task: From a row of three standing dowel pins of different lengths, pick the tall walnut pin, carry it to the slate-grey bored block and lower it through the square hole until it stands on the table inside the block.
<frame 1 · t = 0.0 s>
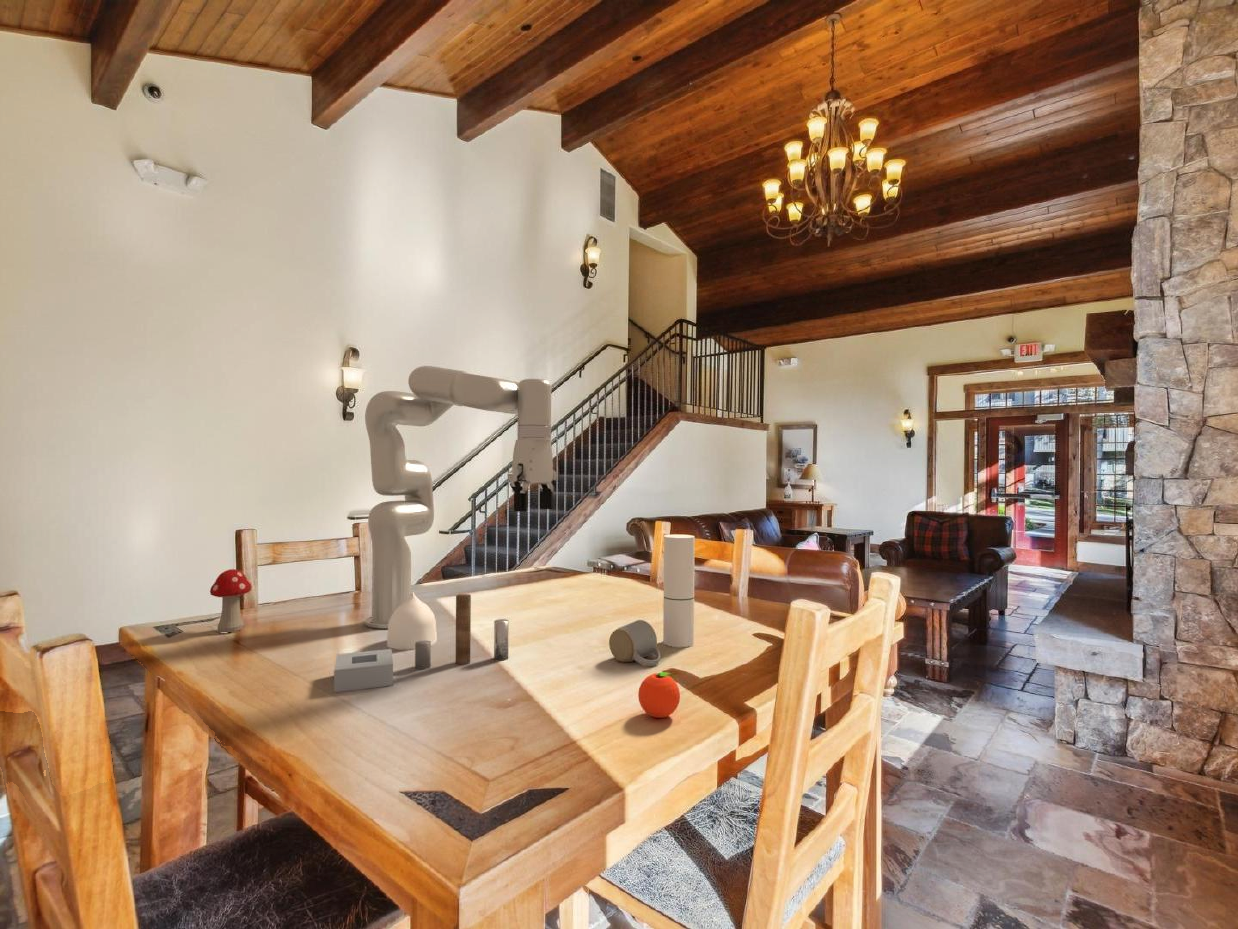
hand: (533, 510, 138), 31 cm above the table, tool pointing down, fingers open, 9 cm apart
ceramic mug: (637, 661, 131), on the table
medium pin: (501, 658, 131), on the table
decorative mushroom: (230, 631, 151), on the table
cylindrical container: (678, 643, 143), on the table
teardrop: (412, 643, 142), on the table
short pin: (422, 667, 125), on the table
clementine: (660, 716, 102), on the table
hole block: (364, 680, 117), on the table
long pin: (462, 662, 128), on the table
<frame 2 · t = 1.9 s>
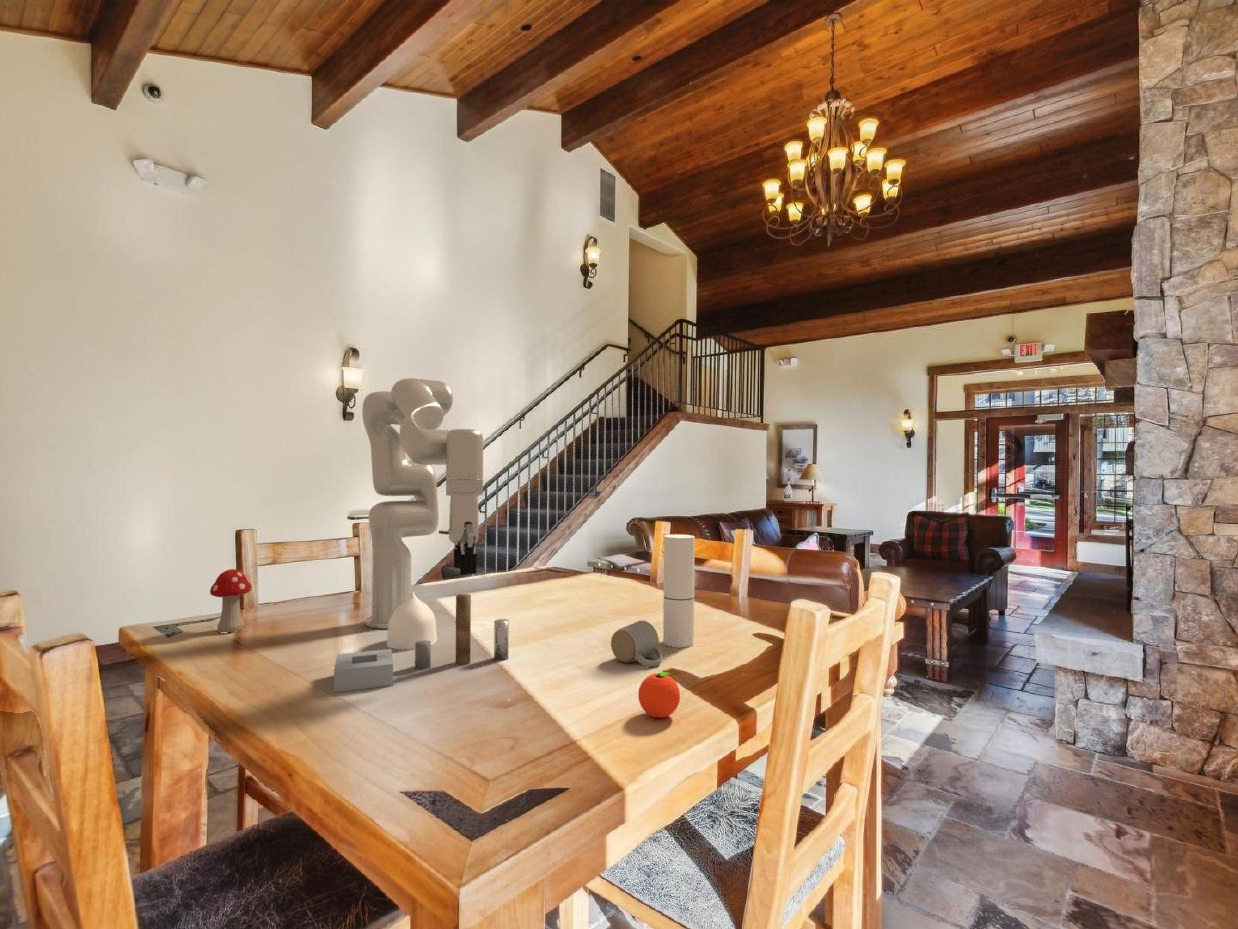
hand: (464, 570, 128), 19 cm above the table, tool pointing down, fingers open, 9 cm apart
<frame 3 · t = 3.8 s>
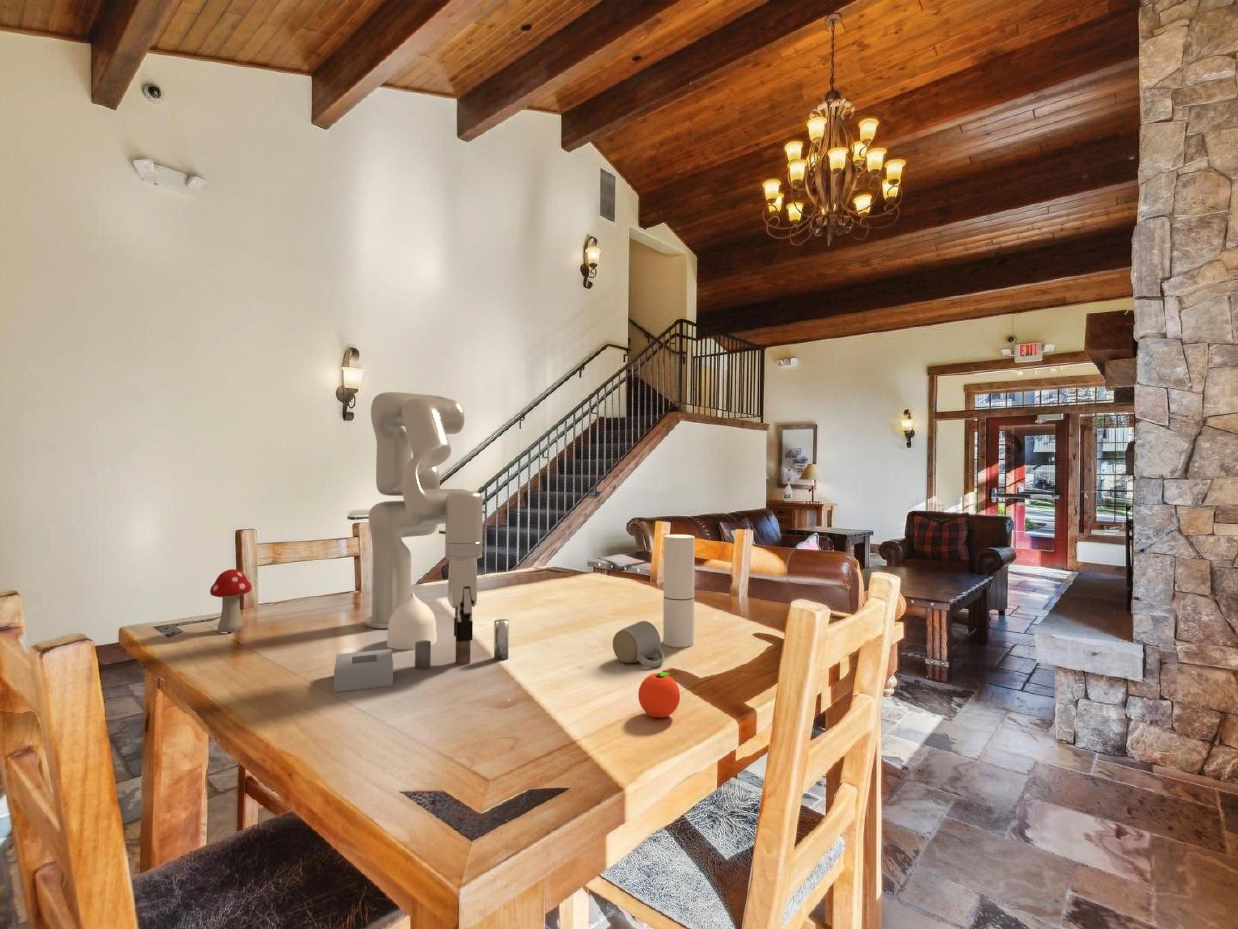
hand: (463, 637, 128), 5 cm above the table, tool pointing down, fingers closed on long pin, 3 cm apart
long pin: (462, 662, 128), on the table, touching gripper
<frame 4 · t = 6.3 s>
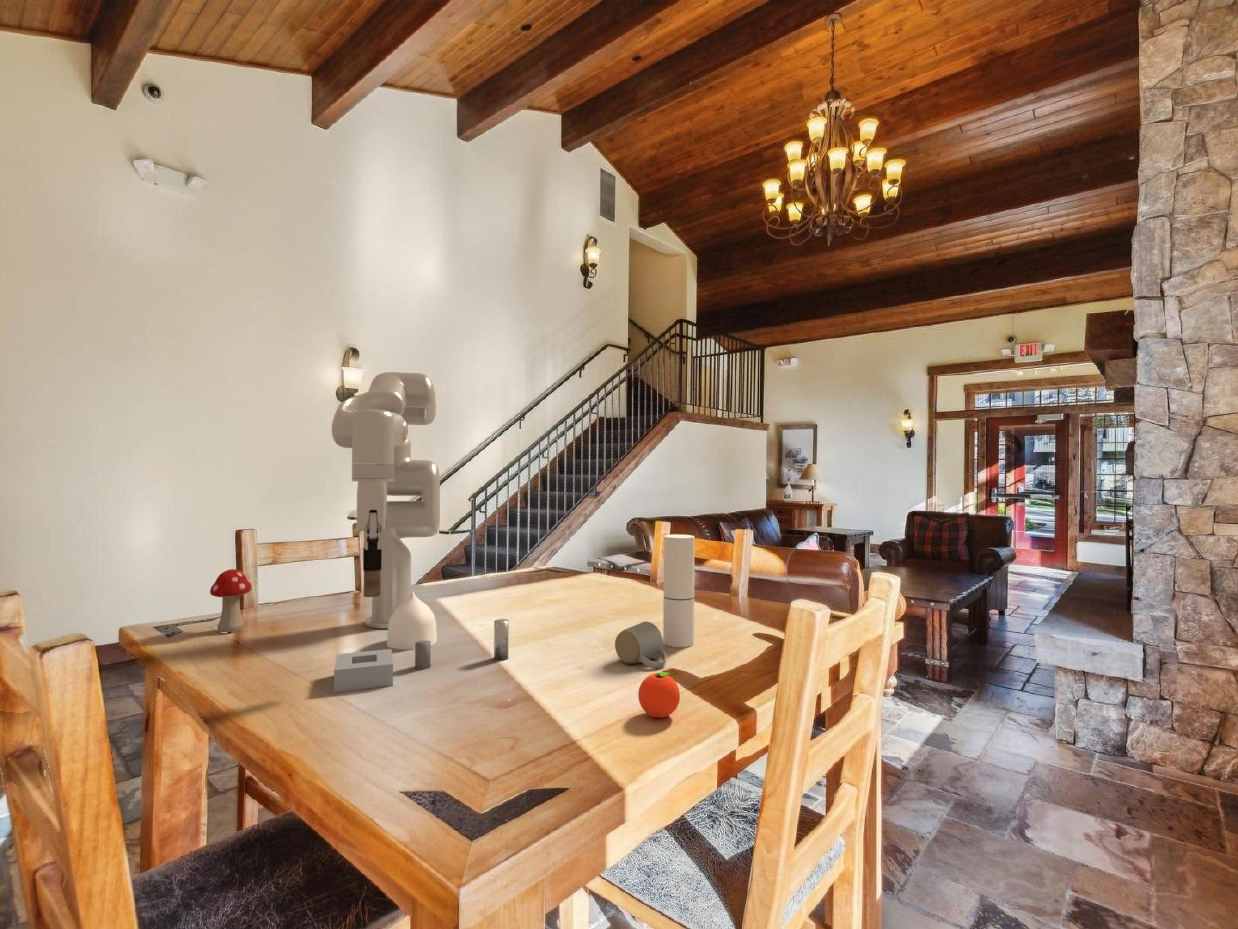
hand: (372, 568, 118), 21 cm above the table, tool pointing down, fingers closed on long pin, 3 cm apart
long pin: (372, 595, 118), point 16 cm above the table, touching gripper
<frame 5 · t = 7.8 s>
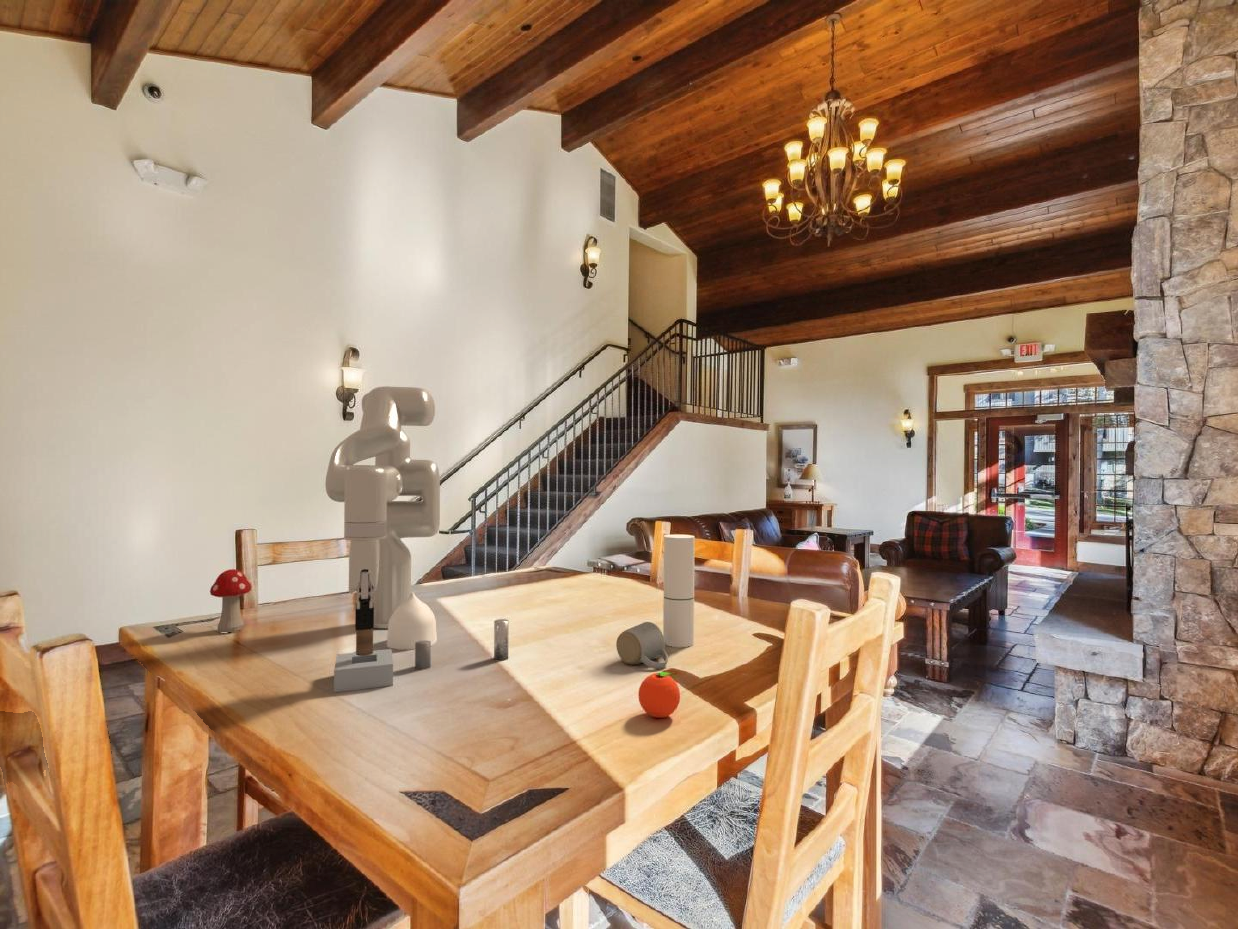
hand: (364, 626, 117), 10 cm above the table, tool pointing down, fingers closed on long pin, 3 cm apart
long pin: (364, 653, 117), point 5 cm above the table, touching gripper
when the fingers open (6 cm above the table, at t = 9.0 s): long pin stays where it is, resting in hole block.
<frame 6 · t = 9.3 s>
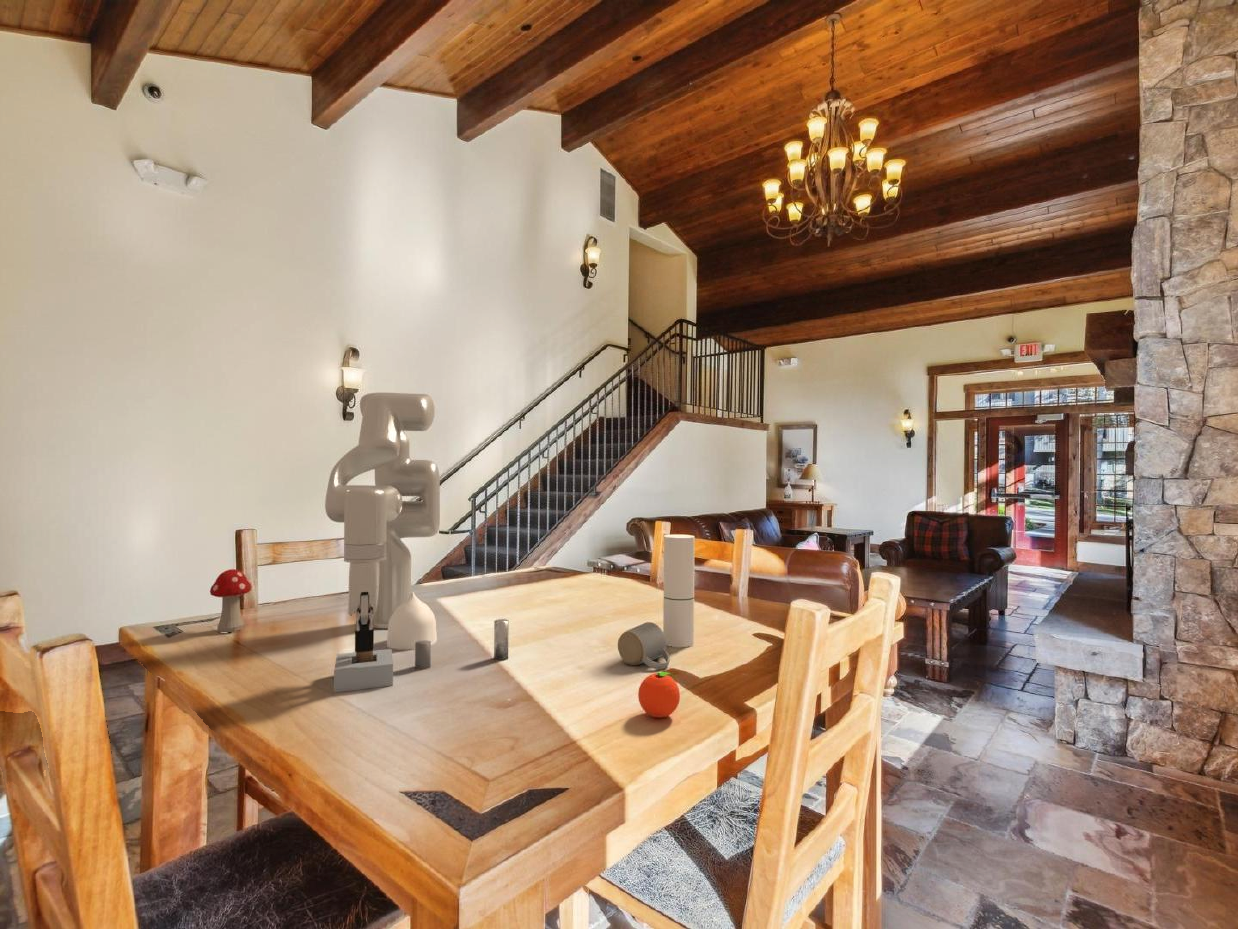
hand: (364, 645, 117), 7 cm above the table, tool pointing down, fingers open, 6 cm apart
long pin: (364, 679, 117), resting in hole block
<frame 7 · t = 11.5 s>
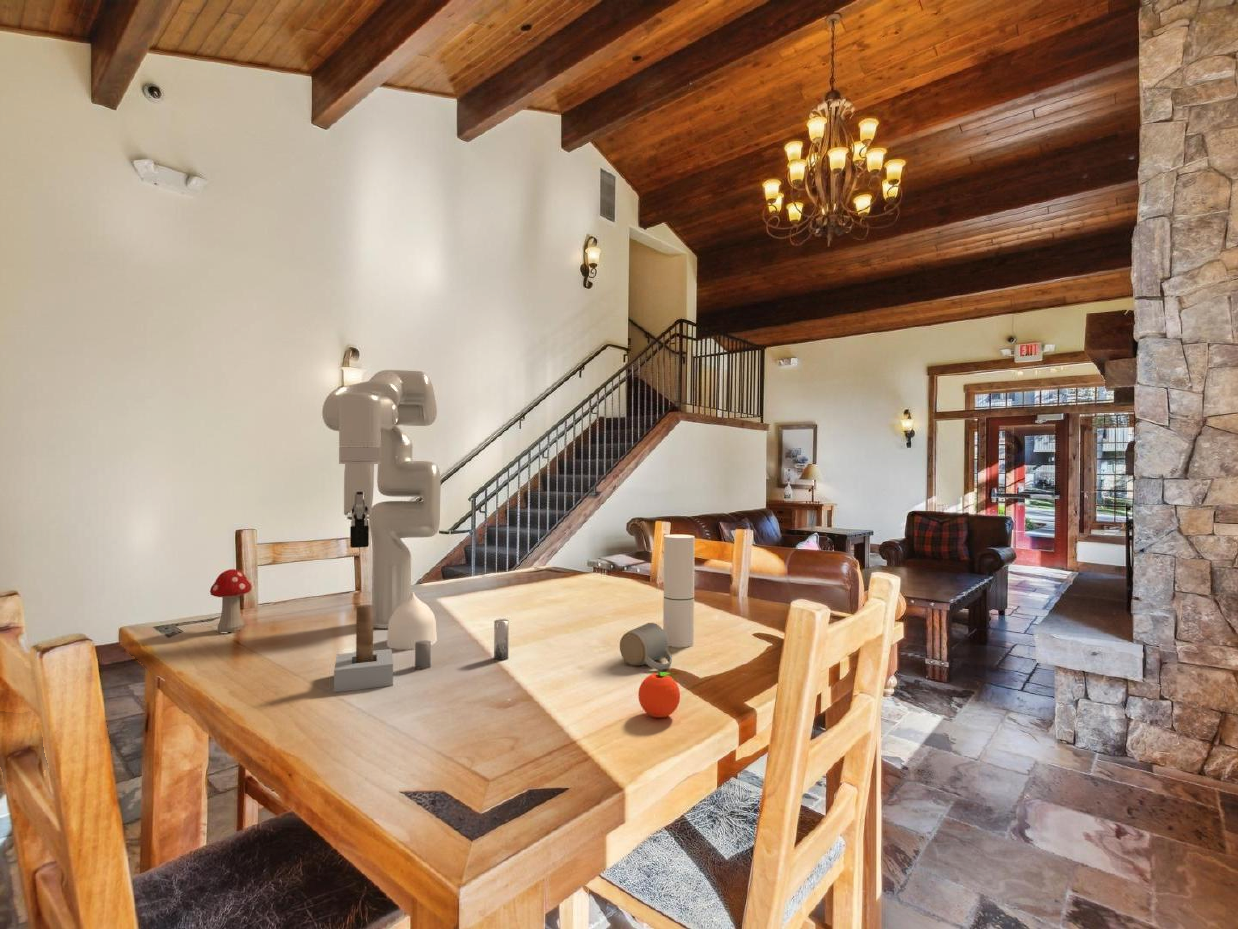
hand: (359, 543, 121), 26 cm above the table, tool pointing down, fingers open, 9 cm apart
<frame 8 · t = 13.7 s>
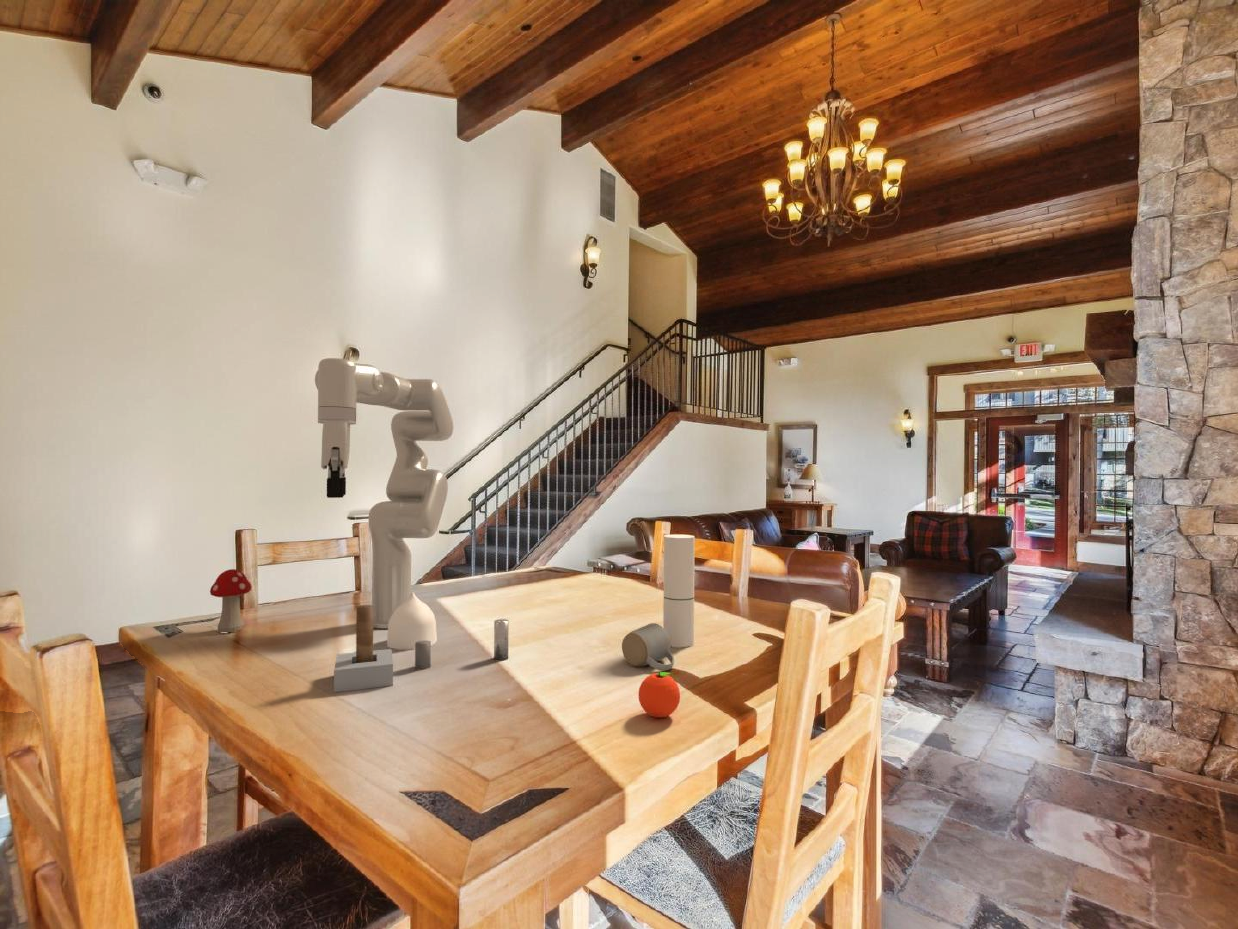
hand: (336, 496, 132), 34 cm above the table, tool pointing down, fingers open, 9 cm apart
at the end: long pin 0.1 cm off-centre on the hole block, point 0.0 cm above the hole block's base; long pin tilted 0°; the gripper is holding nothing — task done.
